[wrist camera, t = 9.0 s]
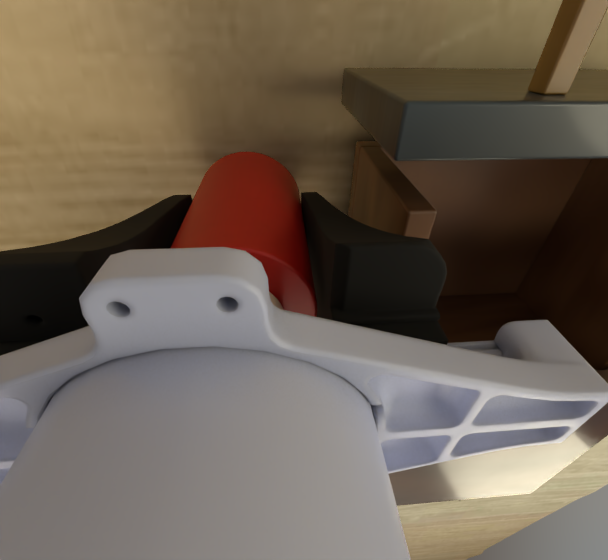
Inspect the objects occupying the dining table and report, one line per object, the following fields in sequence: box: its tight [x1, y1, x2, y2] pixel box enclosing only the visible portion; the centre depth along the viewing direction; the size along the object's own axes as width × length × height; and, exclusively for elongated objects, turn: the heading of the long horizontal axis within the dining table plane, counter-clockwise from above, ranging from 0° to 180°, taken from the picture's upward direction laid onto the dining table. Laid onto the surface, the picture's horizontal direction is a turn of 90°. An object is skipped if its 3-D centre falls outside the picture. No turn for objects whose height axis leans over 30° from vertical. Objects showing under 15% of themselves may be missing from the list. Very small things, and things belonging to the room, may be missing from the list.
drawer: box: [341, 0, 608, 370], centre depth 11 cm, size 16×12×7 cm
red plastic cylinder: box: [171, 152, 317, 317], centre depth 11 cm, size 4×4×8 cm
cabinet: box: [389, 369, 608, 505], centre depth 19 cm, size 13×14×9 cm
